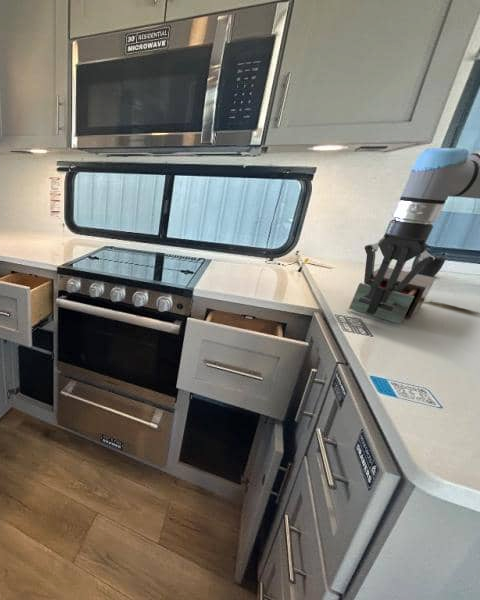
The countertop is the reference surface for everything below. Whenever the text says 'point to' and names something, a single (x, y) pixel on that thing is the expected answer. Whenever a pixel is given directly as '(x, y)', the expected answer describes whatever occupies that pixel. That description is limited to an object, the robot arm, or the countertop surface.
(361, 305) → the drawer
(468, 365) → the countertop surface
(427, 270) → the mug
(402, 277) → the cabinet
